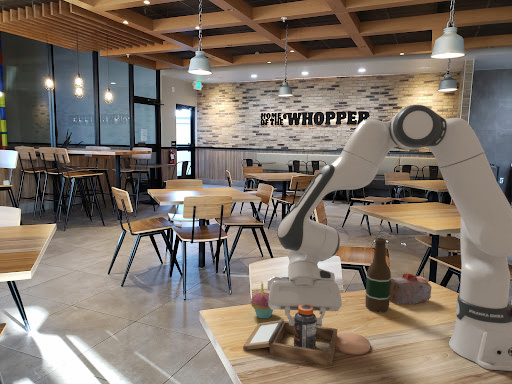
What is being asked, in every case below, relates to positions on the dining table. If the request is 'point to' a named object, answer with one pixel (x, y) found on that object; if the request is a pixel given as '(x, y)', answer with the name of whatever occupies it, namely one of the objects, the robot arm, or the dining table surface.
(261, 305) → the cupcake
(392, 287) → the food item
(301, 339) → the pill bottle
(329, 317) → the dining table surface
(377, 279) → the beer bottle
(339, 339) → the pink round plate
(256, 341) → the lid
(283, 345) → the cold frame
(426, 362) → the dining table surface
